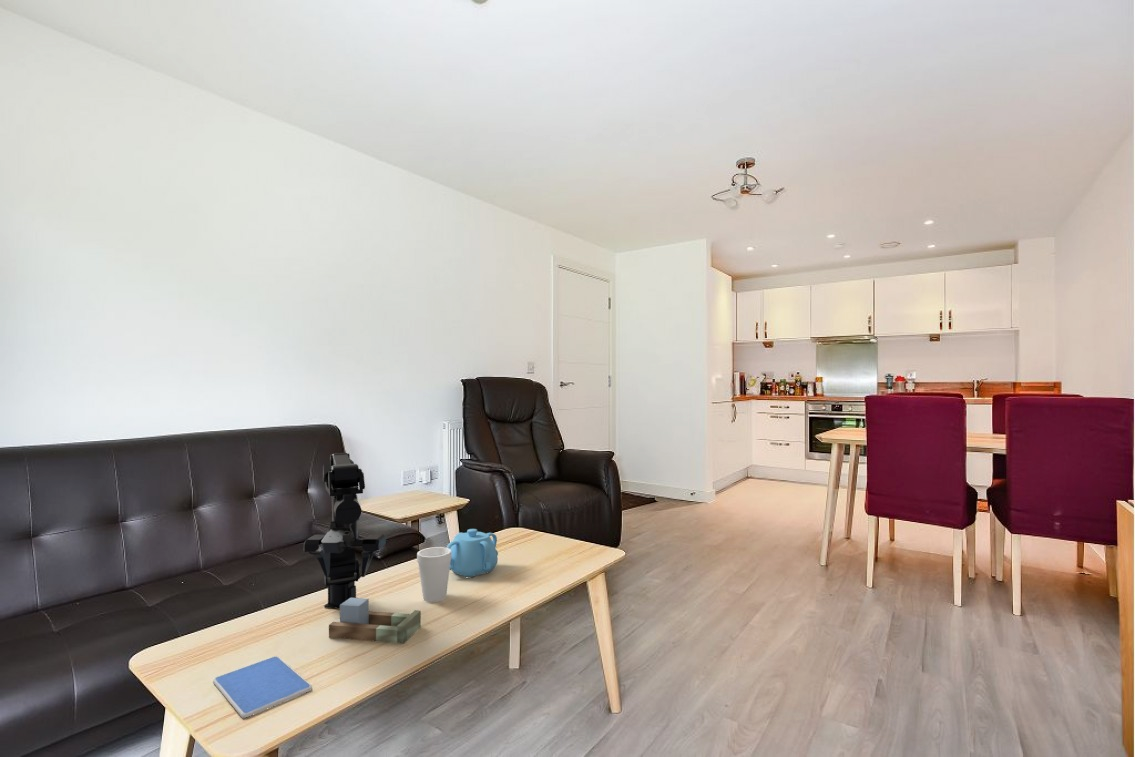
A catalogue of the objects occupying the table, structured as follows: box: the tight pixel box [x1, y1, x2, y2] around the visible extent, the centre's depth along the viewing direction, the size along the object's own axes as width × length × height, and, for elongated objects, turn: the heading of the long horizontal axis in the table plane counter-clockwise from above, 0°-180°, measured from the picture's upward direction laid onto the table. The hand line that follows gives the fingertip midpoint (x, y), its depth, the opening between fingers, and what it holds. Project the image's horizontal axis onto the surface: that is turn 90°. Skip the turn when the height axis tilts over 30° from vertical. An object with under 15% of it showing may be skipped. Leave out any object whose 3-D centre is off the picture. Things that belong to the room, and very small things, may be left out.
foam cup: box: [416, 546, 451, 603], centre depth 149 cm, size 10×9×13 cm
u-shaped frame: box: [328, 609, 422, 645], centre depth 129 cm, size 19×9×4 cm, turn 79°
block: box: [339, 597, 370, 624], centre depth 130 cm, size 5×4×7 cm
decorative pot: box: [446, 528, 499, 578], centre depth 170 cm, size 16×16×14 cm
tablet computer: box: [212, 656, 313, 719], centre depth 106 cm, size 19×13×1 cm, turn 48°
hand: (345, 576), depth 133 cm, fingers open, 9 cm apart
